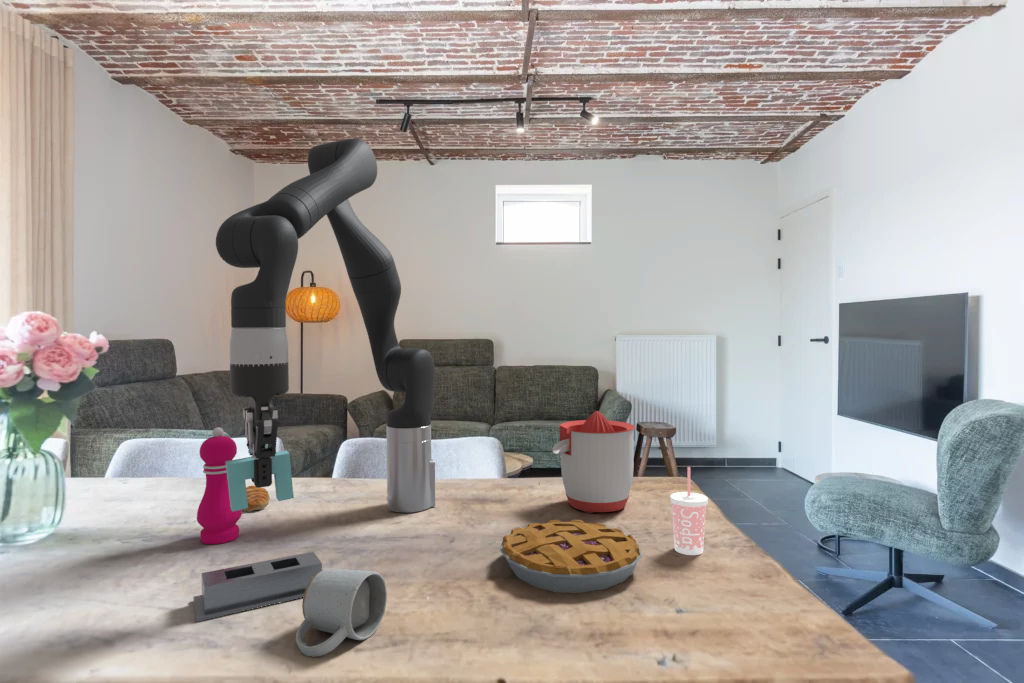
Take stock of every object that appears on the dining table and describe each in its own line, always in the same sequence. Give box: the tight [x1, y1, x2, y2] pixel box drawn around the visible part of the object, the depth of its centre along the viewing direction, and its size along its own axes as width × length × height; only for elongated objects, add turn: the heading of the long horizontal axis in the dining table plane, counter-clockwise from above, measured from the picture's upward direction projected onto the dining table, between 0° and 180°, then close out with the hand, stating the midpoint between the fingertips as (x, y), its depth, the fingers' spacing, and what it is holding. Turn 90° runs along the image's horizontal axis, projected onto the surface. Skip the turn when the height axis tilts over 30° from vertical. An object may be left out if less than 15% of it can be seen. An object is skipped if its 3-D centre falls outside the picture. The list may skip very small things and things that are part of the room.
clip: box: [225, 449, 295, 512], centre depth 84 cm, size 8×2×6 cm, turn 121°
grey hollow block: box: [192, 551, 323, 623], centre depth 84 cm, size 17×7×4 cm, turn 121°
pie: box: [499, 519, 643, 594], centre depth 94 cm, size 22×22×5 cm
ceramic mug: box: [295, 568, 388, 658], centre depth 73 cm, size 11×8×8 cm
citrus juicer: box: [552, 410, 636, 514], centre depth 126 cm, size 16×17×20 cm
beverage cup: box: [669, 466, 709, 556], centre depth 101 cm, size 6×6×14 cm
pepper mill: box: [196, 426, 243, 545], centre depth 107 cm, size 7×7×20 cm
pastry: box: [241, 484, 271, 513], centre depth 127 cm, size 9×7×4 cm
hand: (261, 483), depth 84 cm, fingers closed on clip, 2 cm apart
